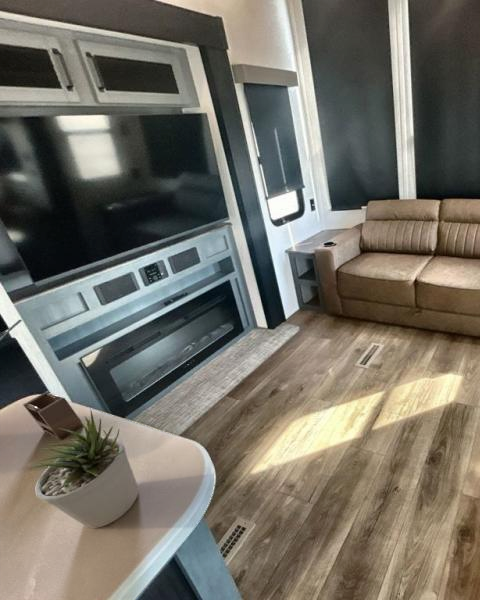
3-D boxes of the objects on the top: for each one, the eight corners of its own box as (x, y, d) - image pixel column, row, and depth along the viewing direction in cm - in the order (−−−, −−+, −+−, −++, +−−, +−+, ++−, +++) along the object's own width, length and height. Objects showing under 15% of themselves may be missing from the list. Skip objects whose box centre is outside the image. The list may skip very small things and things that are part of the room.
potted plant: (113, 547, 62) (46, 470, 52) (54, 533, 65) (-18, 459, 56) (169, 481, 72) (122, 407, 63) (116, 471, 76) (64, 400, 66)
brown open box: (44, 431, 89) (22, 404, 85) (67, 417, 93) (47, 390, 89) (61, 440, 86) (39, 412, 82) (84, 425, 90) (64, 397, 86)
